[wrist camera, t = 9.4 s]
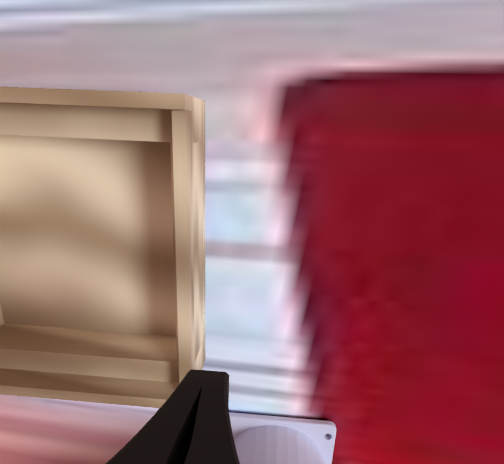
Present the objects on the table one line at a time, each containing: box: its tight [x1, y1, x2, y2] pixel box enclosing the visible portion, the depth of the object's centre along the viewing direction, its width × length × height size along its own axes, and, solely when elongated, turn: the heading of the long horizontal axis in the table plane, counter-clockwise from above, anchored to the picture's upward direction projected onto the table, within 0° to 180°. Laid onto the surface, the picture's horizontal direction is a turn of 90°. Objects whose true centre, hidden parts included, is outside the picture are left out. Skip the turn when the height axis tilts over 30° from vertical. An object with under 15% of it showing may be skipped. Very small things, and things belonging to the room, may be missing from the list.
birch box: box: [0, 87, 205, 408], centre depth 19 cm, size 16×14×4 cm
